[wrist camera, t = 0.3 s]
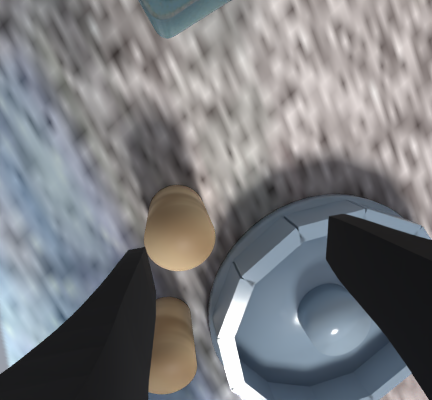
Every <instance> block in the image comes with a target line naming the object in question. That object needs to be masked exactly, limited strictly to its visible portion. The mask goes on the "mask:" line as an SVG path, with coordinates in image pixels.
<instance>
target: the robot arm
mask: <svg viewBox="0 0 432 400" xmlns="http://www.w3.org/2000/svg"><path fill="white" fill-rule="evenodd" d="M326 260H327V262H328V264H329V265H330V267H331V269H332V270H333V272H334V273H335V275H336V276H337V278H338V279H339V281H340V282H341V283H342V284H343V286H344V287H345V288H346V289H347V290H348V292H349V293H350V294H351V295H352V296H353V298H354V299H355V300H356V301H357V302H358V303H359V305H360V306H361V307H362V308H363V309H364V310H365V312H366V313H367V314H368V315H369V316H370V317H371V319H372V320H373V321H374V322H375V323H376V324H377V326H378V327H379V328H380V329H381V331H382V332H383V333H384V334H385V336H386V337H387V338H388V340H389V341H390V342H391V344H392V345H393V347H394V348H395V350H396V351H397V352H398V354H399V355H400V357H401V358H402V360H403V361H404V362H405V364H406V365H407V367H408V368H409V370H410V371H411V373H412V374H413V376H414V377H415V379H416V381H417V382H418V384H419V385H420V387H421V388H422V390H423V391H424V393H425V394H426V396H427V397H428V399H429V400H432V240H430V239H426V238H423V237H419V236H415V235H412V234H409V233H406V232H402V231H399V230H396V229H393V228H390V227H387V226H384V225H381V224H377V223H374V222H371V221H368V220H365V219H362V218H358V217H355V216H351V215H347V214H338V215H333V216H329V219H328V233H327V247H326ZM155 322H156V290H155V286H154V281H153V277H152V273H151V269H150V264H149V260H148V256H147V252H146V247H143V248H138V249H132V250H128V252H127V253H126V254H125V255H124V256H123V258H122V259H121V260H120V262H119V263H118V264H117V265H116V267H115V268H114V269H113V270H112V272H111V273H110V274H109V275H108V277H107V278H106V279H105V280H104V281H103V283H102V284H101V285H100V286H99V287H98V288H97V289H96V291H95V292H94V293H93V294H92V295H91V296H90V297H89V298H88V299H87V300H86V302H85V303H84V304H83V305H82V306H81V307H80V308H79V309H78V310H77V311H76V312H75V313H74V314H73V315H72V316H71V317H70V318H69V319H68V320H66V321H65V322H64V323H63V324H62V325H61V326H60V327H59V328H58V329H57V330H56V331H54V332H53V333H52V334H51V335H50V336H49V337H47V338H46V339H45V340H44V341H42V342H41V343H40V344H39V345H37V346H36V347H35V348H34V349H32V350H31V351H30V352H29V353H28V354H26V355H25V356H24V357H23V358H21V359H20V360H19V361H17V362H16V363H15V364H13V365H12V366H11V367H9V368H8V369H7V370H5V371H4V372H3V373H1V374H0V400H148V390H149V376H150V367H151V358H152V349H153V340H154V331H155Z"/></svg>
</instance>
